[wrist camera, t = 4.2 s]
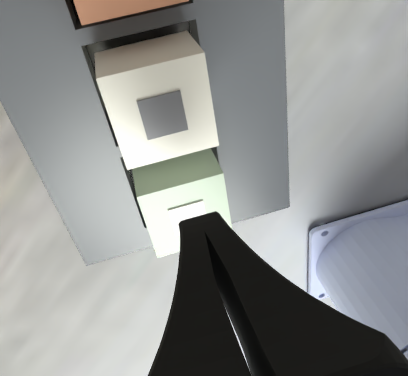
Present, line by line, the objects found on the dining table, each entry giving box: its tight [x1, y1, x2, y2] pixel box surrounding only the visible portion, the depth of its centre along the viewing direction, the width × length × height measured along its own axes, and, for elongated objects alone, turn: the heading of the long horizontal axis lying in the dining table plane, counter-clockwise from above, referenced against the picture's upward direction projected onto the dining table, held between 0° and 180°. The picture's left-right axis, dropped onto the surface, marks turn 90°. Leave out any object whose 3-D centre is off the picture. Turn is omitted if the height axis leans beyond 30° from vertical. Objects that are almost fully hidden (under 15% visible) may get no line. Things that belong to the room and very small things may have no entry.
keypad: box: [0, 0, 290, 266], centre depth 17 cm, size 12×18×2 cm, turn 10°
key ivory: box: [95, 31, 219, 170], centre depth 15 cm, size 4×4×3 cm
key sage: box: [132, 148, 232, 258], centre depth 19 cm, size 4×4×3 cm
